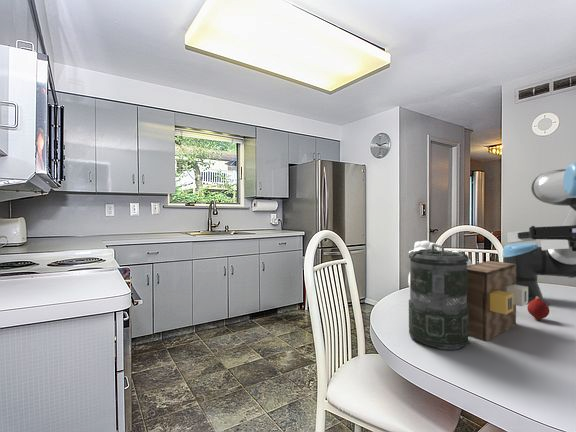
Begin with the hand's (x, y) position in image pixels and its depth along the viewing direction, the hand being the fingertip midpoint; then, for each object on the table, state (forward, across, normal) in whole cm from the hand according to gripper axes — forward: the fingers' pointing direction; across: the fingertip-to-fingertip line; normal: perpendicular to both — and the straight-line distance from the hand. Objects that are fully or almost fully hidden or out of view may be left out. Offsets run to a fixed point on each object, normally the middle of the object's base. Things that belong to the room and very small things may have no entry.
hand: (525, 241), depth 85 cm
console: (+18, +7, -25) cm, 32 cm away
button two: (+9, +2, -19) cm, 21 cm away
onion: (+16, +30, -21) cm, 40 cm away
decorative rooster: (+44, +15, -18) cm, 50 cm away
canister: (+18, -14, -30) cm, 37 cm away
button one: (+12, +13, -16) cm, 24 cm away
